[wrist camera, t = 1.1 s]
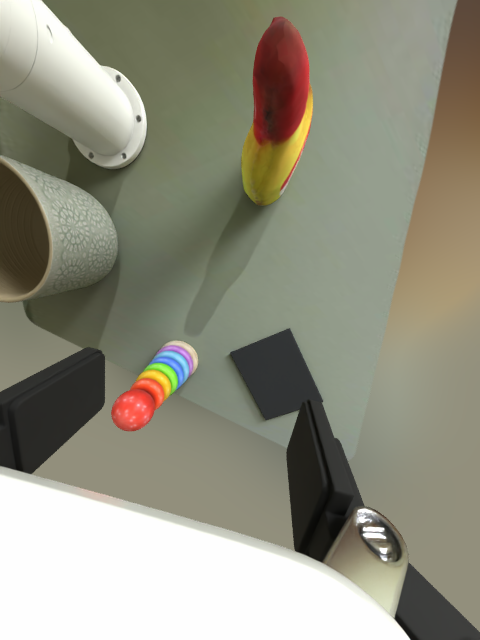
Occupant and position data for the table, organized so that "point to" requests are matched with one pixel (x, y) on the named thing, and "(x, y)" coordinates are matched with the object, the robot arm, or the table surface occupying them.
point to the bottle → (277, 113)
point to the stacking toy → (154, 385)
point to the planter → (50, 235)
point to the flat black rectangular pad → (276, 374)
